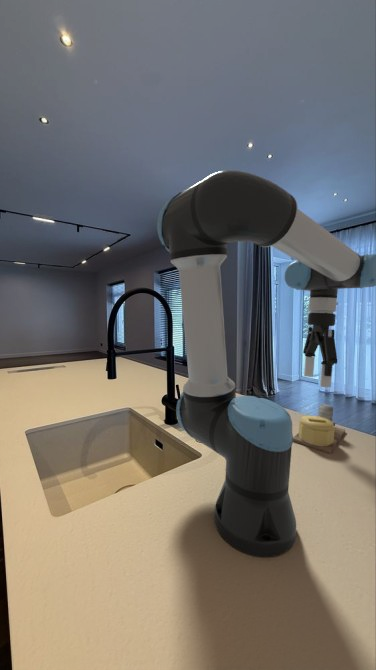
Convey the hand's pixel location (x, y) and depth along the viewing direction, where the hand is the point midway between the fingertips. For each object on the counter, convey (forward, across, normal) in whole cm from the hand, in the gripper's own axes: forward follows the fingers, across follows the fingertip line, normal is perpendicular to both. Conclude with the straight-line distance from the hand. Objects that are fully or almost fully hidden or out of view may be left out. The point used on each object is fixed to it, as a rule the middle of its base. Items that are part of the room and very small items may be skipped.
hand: (316, 381), depth 87 cm
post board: (+20, +5, -5) cm, 21 cm away
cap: (+18, +1, -2) cm, 18 cm away
